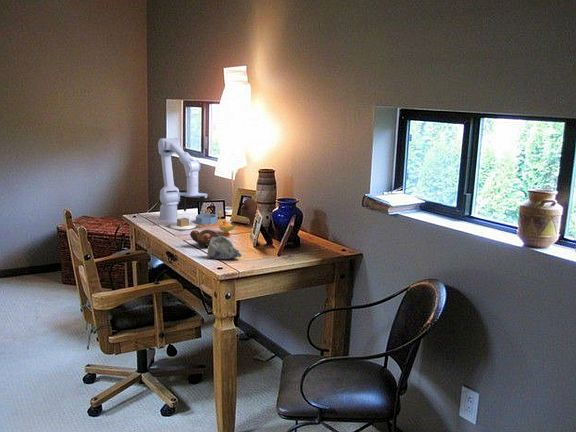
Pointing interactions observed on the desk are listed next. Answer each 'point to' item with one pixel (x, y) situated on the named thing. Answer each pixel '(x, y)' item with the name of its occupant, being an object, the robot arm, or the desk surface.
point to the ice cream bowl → (249, 210)
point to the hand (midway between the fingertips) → (192, 211)
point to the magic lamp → (226, 227)
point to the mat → (183, 230)
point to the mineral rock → (222, 248)
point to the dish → (206, 219)
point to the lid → (182, 224)
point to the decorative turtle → (203, 237)
